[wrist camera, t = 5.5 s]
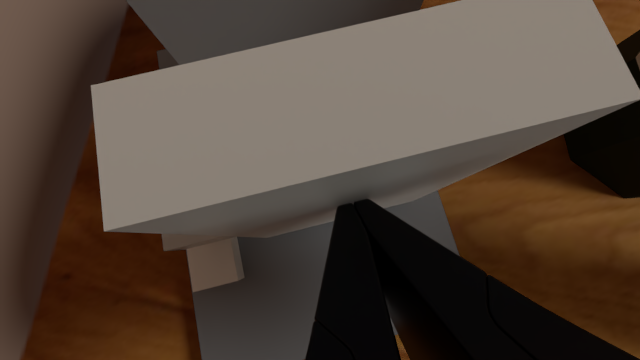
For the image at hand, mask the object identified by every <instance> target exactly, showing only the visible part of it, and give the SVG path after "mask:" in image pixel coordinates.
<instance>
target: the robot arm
mask: <svg viewBox="0 0 640 360" xmlns="http://www.w3.org/2000/svg"><path fill="white" fill-rule="evenodd" d="M390 318H391V319H390ZM314 319H315V321H314V322H313V326H312V331H311V336H310V341H309V345H308V349H307V353H306V357H305V360H401V358H400V354H399V350H398V346H397V342H396V339H395V335H394V331H393V327H392V323H391V320H392V322H393V324H394V326H395V328H396V331H397V333H398V335H399V337H400V339H401V341H402V343H403V345H404V348H405V350H406V352H407V354H408V356H409V358H410V360H640V359H638V358H636V357H635V356H633V355H631V354H629V353H627V352H625V351H623V350H621V349H619V348H618V347H616V346H614V345H612V344H610V343H608V342H606V341H604V340H602V339H601V338H599V337H597V336H595V335H593V334H591V333H589V332H587V331H586V330H584V329H582V328H580V327H578V326H576V325H574V324H573V323H571V322H569V321H567V320H565V319H563V318H562V317H560V316H558V315H556V314H554V313H553V312H551V311H549V310H547V309H545V308H544V307H542V306H540V305H538V304H537V303H535V302H533V301H532V300H530V299H528V298H527V297H525V296H523V295H522V294H520V293H518V292H517V291H515V290H513V289H512V288H510V287H508V286H507V285H505V284H504V283H502V282H500V281H499V280H497V279H496V278H494V277H492V276H491V275H488V276H487V274H486V272H484V271H483V270H481V269H479V268H478V267H476V266H475V265H473V264H471V263H470V262H468V261H467V260H465V259H464V258H462V257H460V256H459V255H457V254H456V253H454V252H452V251H451V250H449V249H448V248H446V247H445V246H443V245H441V244H440V243H438V242H437V241H435V240H433V239H432V238H430V237H429V236H427V235H425V234H424V233H422V232H421V231H419V230H418V229H416V228H414V227H413V226H411V225H410V224H408V223H406V222H405V221H403V220H402V219H400V218H399V217H397V216H395V215H394V214H392V213H391V212H389V211H387V210H386V209H384V208H383V207H381V206H379V205H378V204H376V203H375V202H373V201H372V200H370V199H363V200H359V201H356V202H354V204H352V203H348V204H344V205H340V206H338V207H337V209H336V214H335V219H334V224H333V228H332V233H331V238H330V243H329V248H328V253H327V258H326V263H325V268H324V273H323V278H322V283H321V288H320V292H319V297H318V302H317V307H316V312H315V317H314Z"/></svg>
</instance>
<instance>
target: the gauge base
mask: <svg viewBox="0 0 640 360" xmlns="http://www.w3.org/2000/svg"><path fill="white" fill-rule="evenodd" d="M126 1H127V2H128V4H129V5H130V6H131V7H132V8H133V10H134V11H135V12H136V13H137V14H138V16H139V17H140V18H141V19H142V20H143V22H144V23H145V24H146V25H147V26H148V28H149V29H150V30H151V31H152V32H153V34H154V35H155V36H156V37H157V38H158V40H159V41H160V42H161V43H162V44H163V46H164V47H165V48H166V49H164V50H159V51H157V56H158V63H159V70H161V69H165V68H170V67H174V66H178V65H183V64H187V63H191V62H196V61H200V60H204V59H209V58H213V57H217V56H222V55H226V54H230V53H235V52H239V51H244V50H248V49H252V48H257V47H261V46H265V45H270V44H274V43H278V42H283V41H287V40H291V39H296V38H300V37H304V36H309V35H313V34H318V33H322V32H326V31H331V30H335V29H339V28H344V27H348V26H352V25H357V24H361V23H365V22H370V21H374V20H378V19H383V18H387V17H392V16H396V15H400V14H405V13H409V12H413V11H418V10H420V8H421V5H422V3H423V0H126ZM384 209H386V210H387V211H389V212H391V213H392V214H394V215H395V216H397V217H399V218H400V219H402V220H403V221H405V222H406V223H408V224H410V225H411V226H413V227H414V228H416V229H418V230H419V231H421V232H422V233H424V234H425V235H427V236H429V237H430V238H432V239H433V240H435V241H437V242H438V243H440V244H441V245H443V246H445V247H446V248H448V249H449V250H451V251H452V252H454V253H456V254H457V255H459V253H458V250H457V247H456V244H455V241H454V238H453V235H452V232H451V229H450V226H449V223H448V220H447V217H446V214H445V211H444V208H443V205H442V203H441V200H440V197H439V194H438V191H434V192H432V193H430V194H428V195H425V196H423V197H421V198H419V199H416V200H414V201H411V202H407V203H403V204H399V205H395V206H391V207H388V208H384ZM333 224H334V221H332V222H328V223H324V224H320V225H316V226H312V227H308V228H304V229H300V230H296V231H292V232H288V233H284V234H281V235H277V236H273V237H269V238H259V237H233V238H229V239H225V240H221V241H217V242H213V243H209V244H205V245H201V246H197V247H193V248H189V249H186V255H187V261H188V268H189V275H190V282H191V289H192V295H193V302H194V309H195V316H196V323H197V330H198V336H199V343H200V350H201V357H202V360H303V359H305V357H306V353H307V349H308V345H309V341H310V336H311V331H312V326H313V322H314V321H315V319H314V317H315V312H316V307H317V302H318V297H319V292H320V288H321V283H322V278H323V273H324V268H325V263H326V258H327V253H328V248H329V243H330V238H331V233H332V228H333ZM390 319H391V318H390ZM391 323H392V327H393V331H394V335H397V334H398V333H397V331H396V328H395V326H394V324H393V322H392V320H391Z"/></svg>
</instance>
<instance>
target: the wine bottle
mask: <svg viewBox="0 0 640 360" xmlns="http://www.w3.org/2000/svg"><path fill="white" fill-rule="evenodd" d="M616 46H617V48H618V50H619V52H620V53H621V55H622V57H623V59H624V61H625V63H626V65H627V67H628V69H629V70H630V72H631V74H632V76H633V78H634V80H635V82H636V84H637V86H638V88H639V89H640V30H639V31H637V32H636V33H634V34H633V35H631V36H630V37H628V38H627V39H625V40H624V41H622V42H621V43H619V44H618V45H616ZM564 136H565V140H566V144H567V148H568V152H569V156H570V159H571V160H572V161H573V162H575V163H576V164H578V165H579V166H580V167H582V168H583V169H585V170H586V171H587V172H589V173H590V174H592V175H593V176H594V177H596V178H597V179H598V180H600V181H601V182H603V183H604V184H605V185H607V186H608V187H610V188H611V189H612V190H614V191H615V192H617V193H618V194H619V195H621V196H622V197H624V198H638V197H640V100H639V101H636V102H634V103H632V104H630V105H627V106H625V107H623V108H621V109H618V110H616V111H614V112H612V113H609V114H607V115H605V116H603V117H600V118H598V119H596V120H594V121H592V122H589V123H587V124H585V125H583V126H580V127H578V128H576V129H574V130H571V131H569V132H567V133H565V134H564Z"/></svg>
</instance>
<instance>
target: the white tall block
mask: <svg viewBox="0 0 640 360" xmlns="http://www.w3.org/2000/svg"><path fill="white" fill-rule="evenodd" d="M91 92H92V103H93V115H94V126H95V137H96V148H97V159H98V171H99V182H100V193H101V204H102V215H103V227H104V231H106V232H132V233H157V234H162V242H163V250H164V251H173V250H185V249H189V248H193V247H197V246H201V245H205V244H209V243H213V242H217V241H221V240H225V239H229V238H233V237H259V238H269V237H273V236H277V235H281V234H284V233H288V232H292V231H296V230H300V229H304V228H308V227H312V226H316V225H320V224H324V223H328V222H332V221H334V219H335V214H336V209H337V207H338V206H340V205H344V204H348V203H352V204H354V202H356V201H359V200H363V199H370V200H372V201H373V202H375V203H376V204H378V205H379V206H381V207H383V208H388V207H391V206H395V205H399V204H403V203H407V202H411V201H414V200H416V199H419V198H421V197H423V196H425V195H428V194H430V193H432V192H434V191H437V190H439V189H441V188H443V187H446V186H448V185H450V184H452V183H455V182H457V181H459V180H461V179H464V178H466V177H468V176H470V175H472V174H475V173H477V172H479V171H481V170H484V169H486V168H488V167H490V166H493V165H495V164H497V163H499V162H502V161H504V160H506V159H508V158H511V157H513V156H515V155H517V154H520V153H522V152H524V151H526V150H529V149H531V148H533V147H535V146H538V145H540V144H542V143H544V142H547V141H549V140H551V139H553V138H556V137H558V136H560V135H562V134H565V133H567V132H569V131H571V130H574V129H576V128H578V127H580V126H583V125H585V124H587V123H589V122H592V121H594V120H596V119H598V118H600V117H603V116H605V115H607V114H609V113H612V112H614V111H616V110H618V109H621V108H623V107H625V106H627V105H630V104H632V103H634V102H636V101H639V100H640V89H639V88H638V86H637V84H636V82H635V80H634V78H633V76H632V74H631V72H630V70H629V69H628V67H627V65H626V63H625V61H624V59H623V57H622V55H621V53H620V52H619V50H618V48H617V46H616V44H615V42H614V40H613V38H612V36H611V35H610V33H609V31H608V29H607V27H606V25H605V23H604V21H603V19H602V18H601V16H600V14H599V12H598V10H597V8H596V6H595V4H594V2H593V1H592V0H461V1H457V2H452V3H448V4H444V5H439V6H435V7H431V8H426V9H422V10H418V11H413V12H409V13H405V14H400V15H396V16H392V17H387V18H383V19H378V20H374V21H370V22H365V23H361V24H357V25H352V26H348V27H344V28H339V29H335V30H331V31H326V32H322V33H318V34H313V35H309V36H304V37H300V38H296V39H291V40H287V41H283V42H278V43H274V44H270V45H265V46H261V47H257V48H252V49H248V50H244V51H239V52H235V53H230V54H226V55H222V56H217V57H213V58H209V59H204V60H200V61H196V62H191V63H187V64H183V65H178V66H174V67H170V68H165V69H161V70H156V71H152V72H148V73H143V74H139V75H135V76H130V77H126V78H122V79H117V80H113V81H109V82H104V83H100V84H96V85H91Z"/></svg>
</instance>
